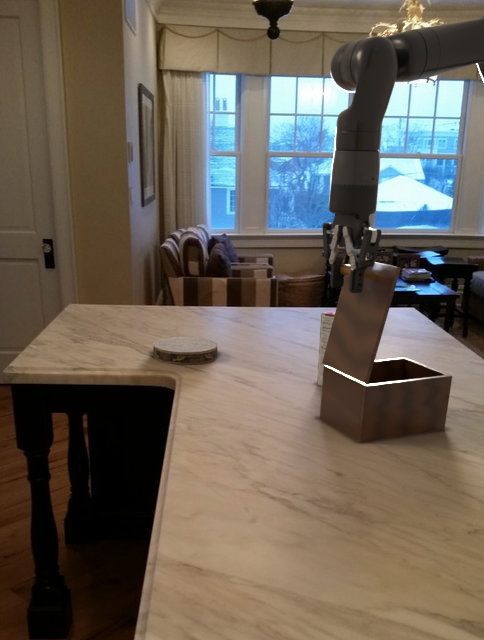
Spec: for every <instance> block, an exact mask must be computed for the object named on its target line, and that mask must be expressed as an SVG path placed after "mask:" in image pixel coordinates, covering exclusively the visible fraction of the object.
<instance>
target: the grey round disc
mask: <svg viewBox="0 0 484 640" xmlns="http://www.w3.org/2000/svg"><path fill="white" fill-rule="evenodd" d="M152 351H153V358H154V359H155V360H157V361H159V362H162V363H165V364H166V363H167V364H171V365H201V364H207V363H211V362H213V361H215V360H217V359H218V343H217V342H216V341H214V340H212V339H209V338H205V337H204V338H203V337H193V336H173V337H166V338H161V339H157V340H156V341H154V342H153V350H152Z"/></svg>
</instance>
